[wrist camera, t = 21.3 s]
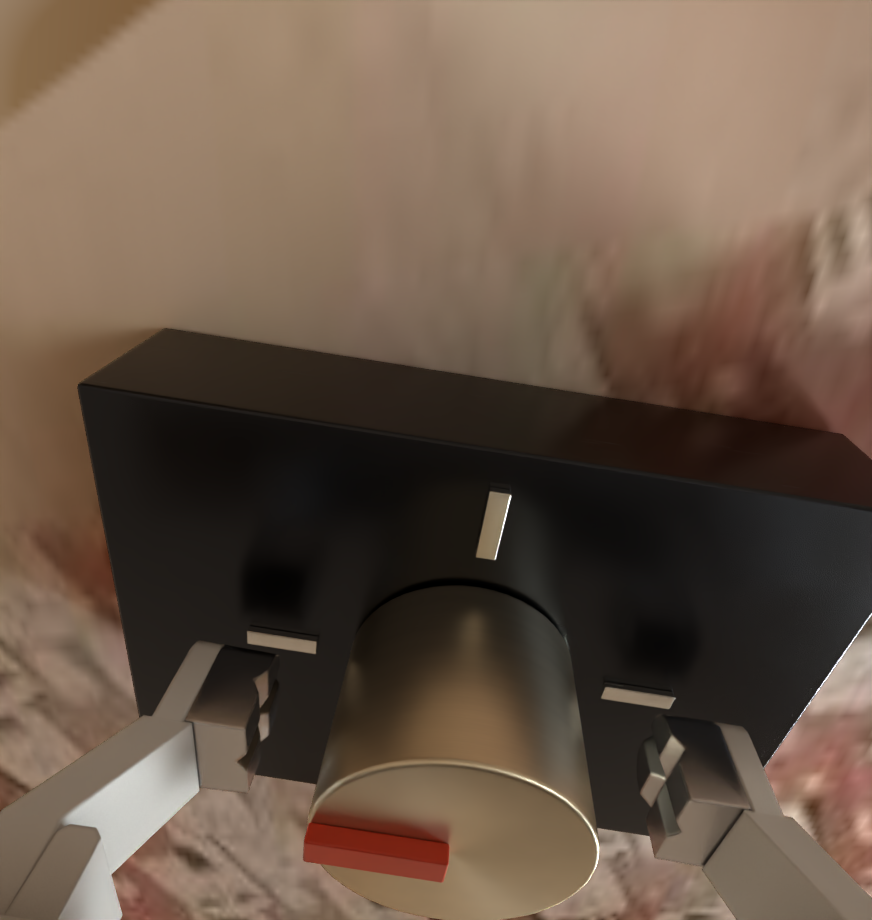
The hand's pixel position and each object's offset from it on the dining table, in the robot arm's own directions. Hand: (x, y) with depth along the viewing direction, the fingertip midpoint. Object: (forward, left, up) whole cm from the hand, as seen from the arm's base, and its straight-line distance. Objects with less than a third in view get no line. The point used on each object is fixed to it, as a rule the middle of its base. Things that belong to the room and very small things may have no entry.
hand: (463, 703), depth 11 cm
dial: (0, 0, -1) cm, 1 cm away
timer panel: (0, 0, -4) cm, 4 cm away
